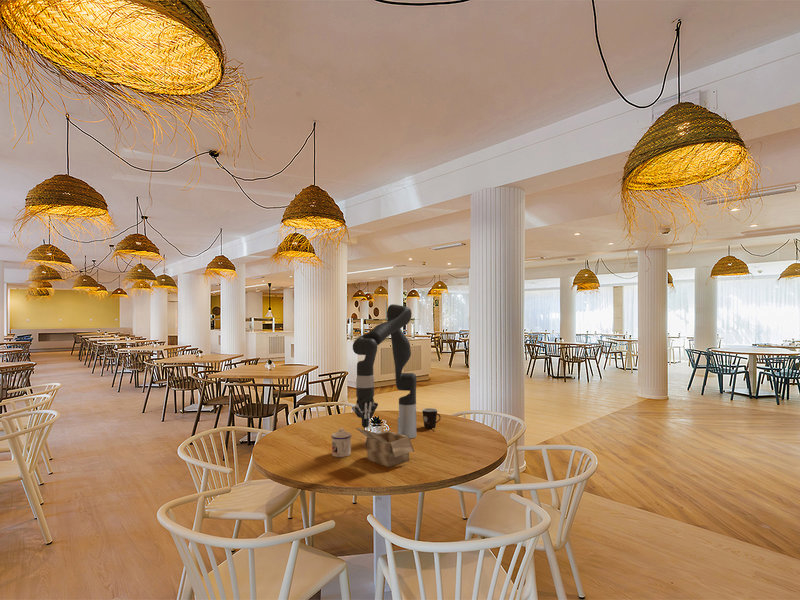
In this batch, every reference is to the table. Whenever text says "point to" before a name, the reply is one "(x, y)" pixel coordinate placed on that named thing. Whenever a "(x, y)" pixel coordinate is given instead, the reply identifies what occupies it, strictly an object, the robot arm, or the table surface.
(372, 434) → the front flap
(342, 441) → the teacup with lid
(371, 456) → the carton
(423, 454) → the table surface
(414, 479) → the table surface
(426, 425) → the coffee mug
